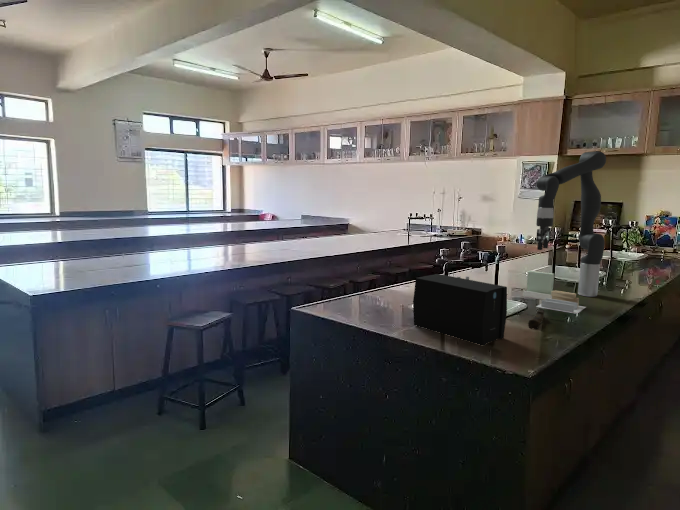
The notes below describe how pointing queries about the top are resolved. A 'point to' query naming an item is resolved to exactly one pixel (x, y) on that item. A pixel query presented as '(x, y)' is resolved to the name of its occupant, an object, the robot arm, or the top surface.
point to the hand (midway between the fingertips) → (542, 249)
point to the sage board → (540, 282)
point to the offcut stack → (564, 296)
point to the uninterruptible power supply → (460, 307)
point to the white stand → (536, 295)
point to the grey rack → (561, 305)
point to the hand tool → (536, 319)
